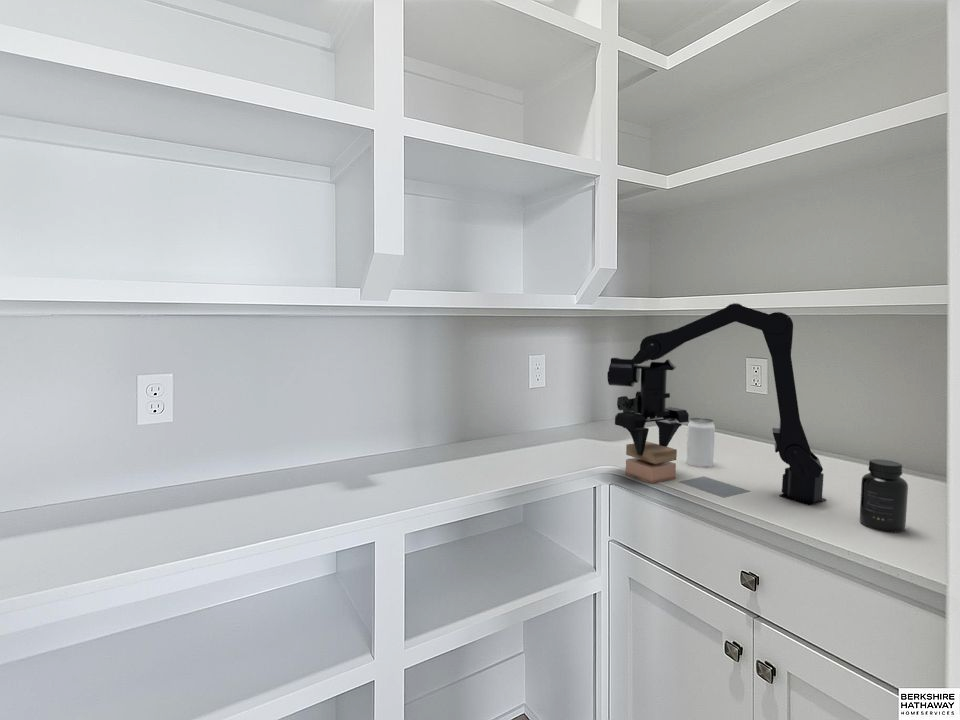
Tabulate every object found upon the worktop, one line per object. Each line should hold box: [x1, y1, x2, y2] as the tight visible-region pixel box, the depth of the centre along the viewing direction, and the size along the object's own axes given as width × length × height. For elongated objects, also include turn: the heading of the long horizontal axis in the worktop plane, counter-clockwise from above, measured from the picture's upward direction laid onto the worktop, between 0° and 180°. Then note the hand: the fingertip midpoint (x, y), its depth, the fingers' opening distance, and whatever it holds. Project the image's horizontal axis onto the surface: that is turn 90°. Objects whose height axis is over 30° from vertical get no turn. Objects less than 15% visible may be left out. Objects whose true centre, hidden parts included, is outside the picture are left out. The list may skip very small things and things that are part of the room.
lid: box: [625, 441, 678, 464], centre depth 125 cm, size 9×7×2 cm
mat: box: [678, 476, 751, 499], centre depth 118 cm, size 12×9×1 cm
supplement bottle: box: [859, 458, 909, 533], centre depth 97 cm, size 7×7×12 cm
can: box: [685, 417, 716, 468], centre depth 136 cm, size 6×6×12 cm
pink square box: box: [625, 457, 677, 485], centre depth 125 cm, size 8×8×4 cm
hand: (651, 453), depth 125 cm, fingers closed on lid, 7 cm apart
